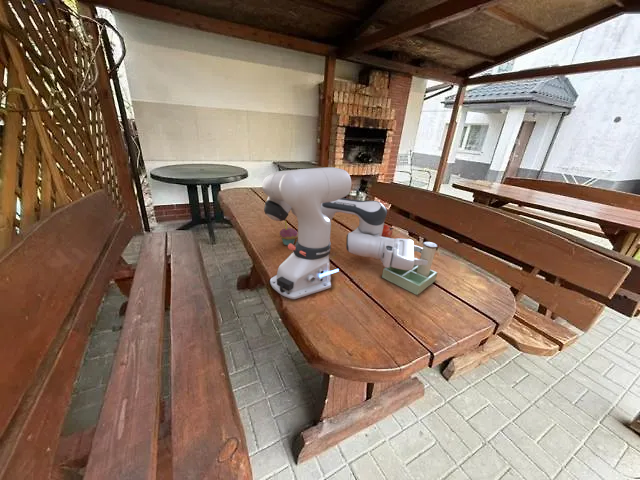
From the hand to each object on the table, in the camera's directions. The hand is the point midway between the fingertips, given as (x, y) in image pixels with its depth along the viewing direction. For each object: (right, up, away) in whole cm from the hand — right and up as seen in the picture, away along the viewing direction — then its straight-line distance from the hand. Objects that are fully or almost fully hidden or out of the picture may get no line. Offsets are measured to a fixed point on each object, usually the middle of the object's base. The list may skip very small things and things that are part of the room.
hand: (426, 256), depth 95 cm
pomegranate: (-6, +7, +41) cm, 42 cm away
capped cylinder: (0, -8, +4) cm, 9 cm away
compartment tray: (-5, -9, +4) cm, 11 cm away
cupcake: (-53, +4, +26) cm, 60 cm away
